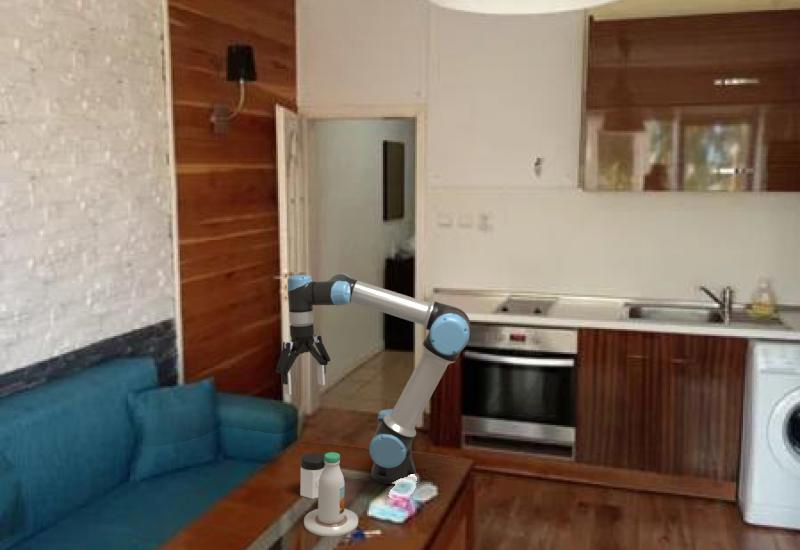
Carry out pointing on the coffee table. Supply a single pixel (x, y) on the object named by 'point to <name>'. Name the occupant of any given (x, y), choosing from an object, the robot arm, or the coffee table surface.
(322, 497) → the milk bottle
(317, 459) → the jar
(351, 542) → the coffee table surface
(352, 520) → the trivet
